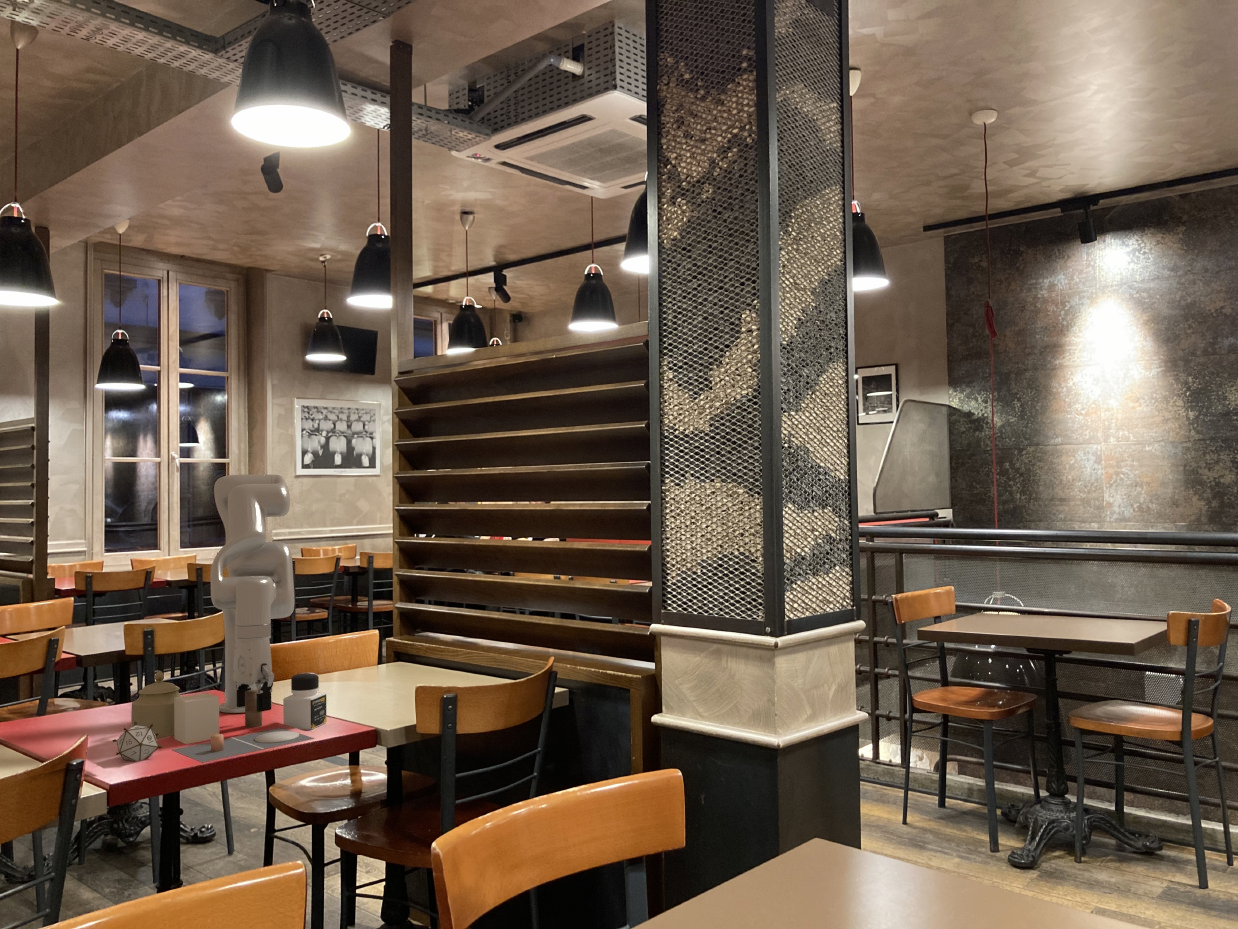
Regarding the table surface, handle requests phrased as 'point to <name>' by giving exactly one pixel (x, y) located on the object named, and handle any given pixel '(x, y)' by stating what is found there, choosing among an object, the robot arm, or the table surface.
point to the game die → (137, 743)
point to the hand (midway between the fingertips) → (253, 708)
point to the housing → (196, 717)
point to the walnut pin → (252, 710)
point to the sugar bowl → (156, 707)
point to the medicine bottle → (305, 703)
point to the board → (241, 744)
